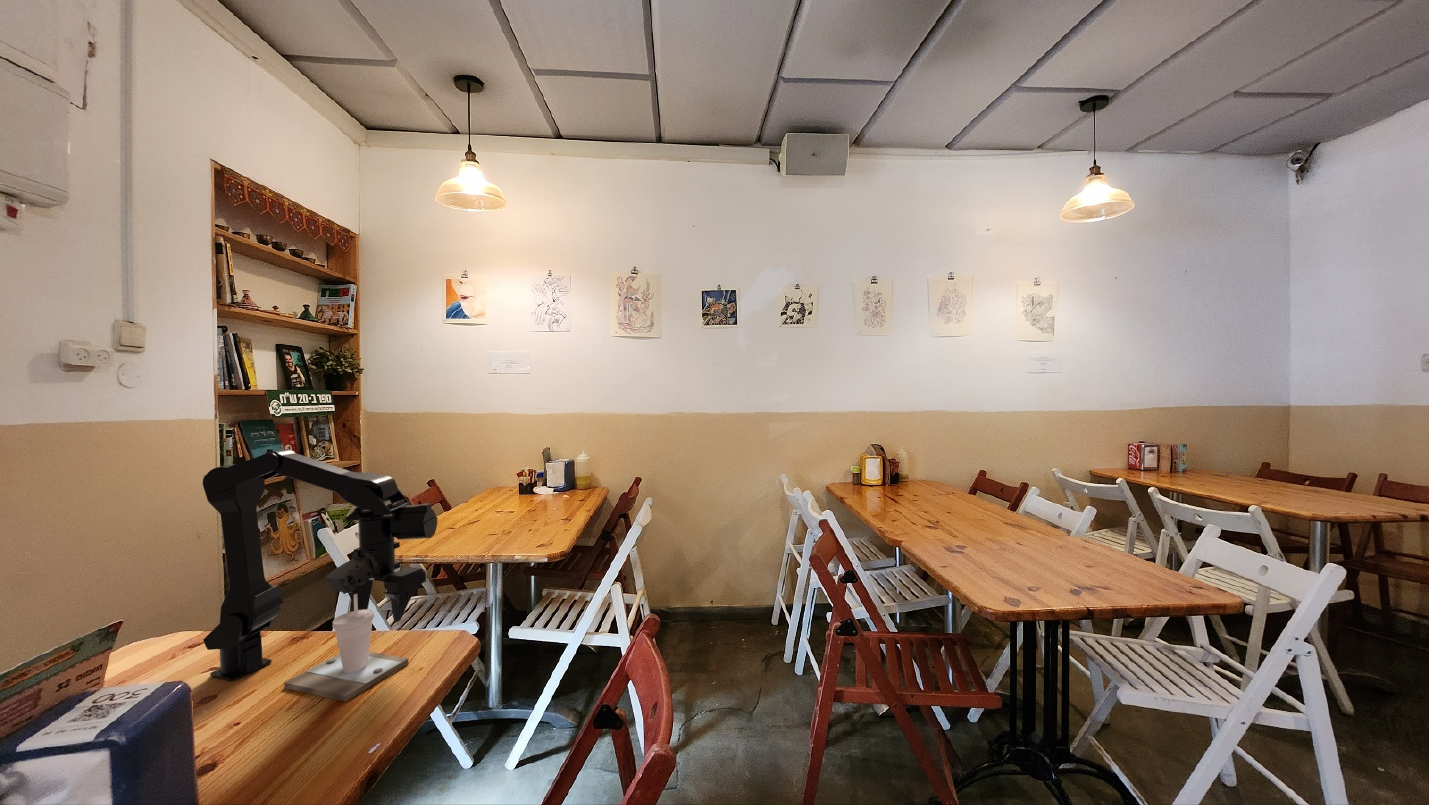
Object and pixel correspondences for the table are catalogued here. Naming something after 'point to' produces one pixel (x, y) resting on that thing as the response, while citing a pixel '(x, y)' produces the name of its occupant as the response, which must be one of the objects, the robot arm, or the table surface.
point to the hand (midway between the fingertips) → (379, 618)
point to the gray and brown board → (344, 677)
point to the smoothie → (354, 637)
